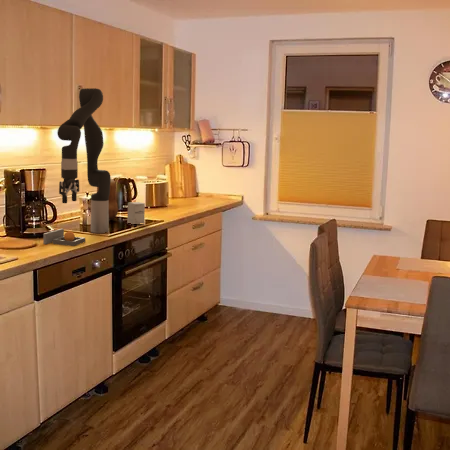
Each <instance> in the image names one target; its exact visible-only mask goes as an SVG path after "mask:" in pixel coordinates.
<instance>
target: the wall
mask: <svg viewBox="0 0 450 450" xmlns="http://www.w3.org/2000/svg"><path fill="white" fill-rule="evenodd" d="M64 230H65V229H64V228H58V229H55V230H52V231H48V232H44V233H43V234H42V235H43V239H42V240H43V245H47V244H50V243H51V244H52V243H53V239H56V238H60V237H63V236H64V234H65V231H64Z"/></svg>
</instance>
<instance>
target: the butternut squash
mask: <svg viewBox="0 0 450 450" xmlns="http://www.w3.org/2000/svg"><path fill="white" fill-rule="evenodd" d="M98 190H99V187H96V193H97V192H98ZM117 202H118V201H117V184H116V181H115V179H113V178H111V183H110V195H109V210H108V214H109V221H110V220H111V221H112V220H114V219H116V217H117V216H118V213H119V208H118V207H119V206H118V203H117Z"/></svg>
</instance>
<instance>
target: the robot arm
mask: <svg viewBox="0 0 450 450" xmlns="http://www.w3.org/2000/svg"><path fill="white" fill-rule="evenodd" d="M78 100H79V108H77V109H76V110H75V111H73V113H72V114H71V116H70V117H69V119H67V120H65V121H64V122H63V123H61V125H59V127H58V129H57V132H56V133H57V136H58V139H59V140H61V141H66V142H68V141H69V142H70V144H69V145H64V146H62V148H61V163H60V164H61V165H60V167H61V168H60V171H61V174H60V176H61V179H63V180H62V181H59V188H58V194H59V195H61V198H62V199H61V202H62V204H67V203H68V193H69V192H70V191H71V202H77V199H78V198H77V194H78V193H79V192H80V179H78V173H79V172H78V171H79V170H78V169H79V168H78V167H79V165H78V147H79V143H80V140H81V137H82V132H81V131H82V130H81V129H82V128H83V131H84V132H83V134H84V143H85V150H86V165H87V166H86V169H87V170H86V171H87V182H88V185H89V186H91V187H93V188H94V187H95V188H97V187H99V190H98V192H97V191H96V192H95V193H92V194H91V195H90V232H91V233H94V234H105V232H107V233H109V222H110V220H109V214H108V210H109V195H110V183H111V179H112V177H111V174H110V172H109V171H108V170H106V169H105V170H104V169H98V168H99V167H98V165H99V164H98V159H99V157H100V155H101V152H102V150H103V148H104V135H103V134H104V133H103V131H102V129H101V127H100V125H99V124H98V123H97V122H96V120H95V119H94V117H93V113H95V112H96V111H97V110H98V109H99V108H100V107H101V106H102V105H103V102H104V95H103V92H102V89H99V88H96V87H95V88H90V87H89V88H81V89H80V90H79V93H78Z"/></svg>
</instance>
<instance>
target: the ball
mask: <svg viewBox="0 0 450 450" xmlns="http://www.w3.org/2000/svg"><path fill="white" fill-rule="evenodd" d="M75 237H76V236H75V233H74V232H72V231H71V230H70V231H66V232H64V239H65V240H67V241H73V240H74V238H75Z"/></svg>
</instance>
